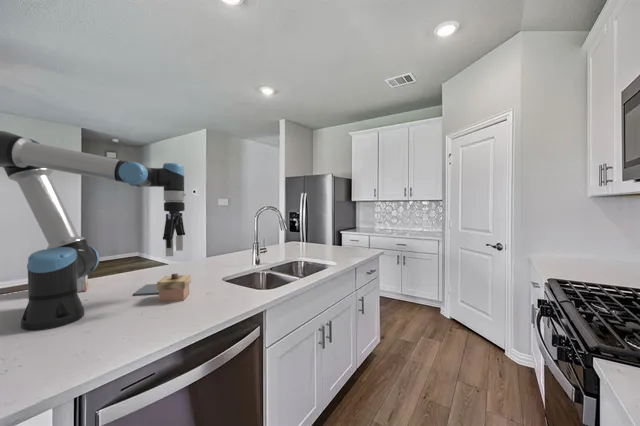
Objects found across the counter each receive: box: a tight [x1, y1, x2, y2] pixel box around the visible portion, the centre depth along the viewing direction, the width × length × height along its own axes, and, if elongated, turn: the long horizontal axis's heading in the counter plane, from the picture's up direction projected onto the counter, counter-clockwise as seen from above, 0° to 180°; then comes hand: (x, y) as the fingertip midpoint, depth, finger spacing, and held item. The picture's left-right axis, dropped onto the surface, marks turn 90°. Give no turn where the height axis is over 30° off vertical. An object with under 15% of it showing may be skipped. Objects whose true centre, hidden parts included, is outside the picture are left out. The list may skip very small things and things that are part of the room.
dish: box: [158, 283, 190, 303], centre depth 116 cm, size 9×9×5 cm
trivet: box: [132, 283, 159, 297], centre depth 126 cm, size 14×14×1 cm
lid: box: [156, 273, 192, 290], centre depth 116 cm, size 10×10×5 cm
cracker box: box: [77, 274, 89, 293], centre depth 126 cm, size 14×6×21 cm, turn 37°
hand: (175, 253), depth 115 cm, fingers open, 13 cm apart
